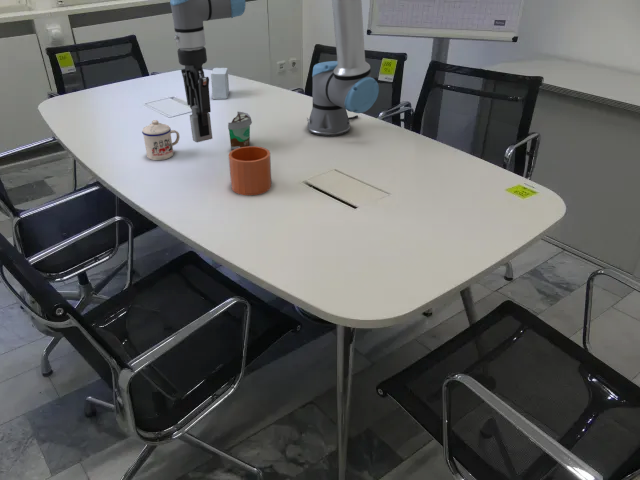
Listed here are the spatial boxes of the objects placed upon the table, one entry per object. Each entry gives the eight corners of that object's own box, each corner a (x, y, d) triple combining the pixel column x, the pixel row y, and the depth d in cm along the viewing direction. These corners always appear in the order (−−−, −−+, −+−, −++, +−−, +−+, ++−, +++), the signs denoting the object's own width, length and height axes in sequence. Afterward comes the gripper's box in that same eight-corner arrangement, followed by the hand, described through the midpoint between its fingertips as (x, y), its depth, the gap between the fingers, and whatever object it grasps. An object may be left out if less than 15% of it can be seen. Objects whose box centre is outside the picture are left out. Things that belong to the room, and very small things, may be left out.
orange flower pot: (259, 174, 162) (257, 143, 156) (278, 188, 154) (277, 155, 148) (224, 184, 157) (221, 151, 151) (243, 199, 149) (240, 165, 143)
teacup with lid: (152, 163, 172) (146, 127, 165) (142, 154, 178) (136, 120, 171) (187, 154, 177) (182, 119, 170) (175, 146, 183) (170, 112, 177)
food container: (248, 153, 176) (246, 124, 170) (230, 152, 177) (227, 123, 171) (256, 140, 186) (255, 111, 180) (239, 139, 187) (237, 111, 181)
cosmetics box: (227, 99, 227) (225, 73, 221) (212, 99, 227) (210, 73, 221) (229, 91, 235) (227, 67, 230) (215, 92, 236) (212, 67, 230)
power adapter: (191, 139, 156) (186, 97, 149) (208, 135, 158) (204, 94, 151) (196, 142, 153) (190, 100, 146) (213, 138, 155) (208, 96, 149)
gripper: (166, 44, 146) (179, 128, 159) (190, 55, 134) (201, 144, 147) (192, 40, 149) (202, 123, 162) (217, 50, 137) (226, 138, 150)
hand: (202, 133), depth 155 cm, fingers closed on power adapter, 3 cm apart
